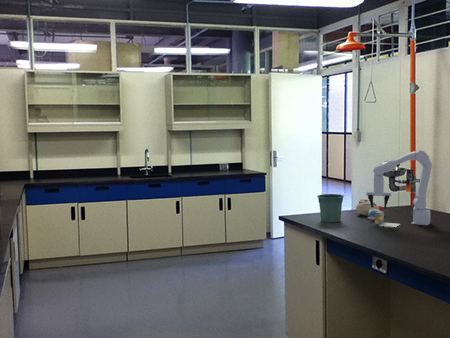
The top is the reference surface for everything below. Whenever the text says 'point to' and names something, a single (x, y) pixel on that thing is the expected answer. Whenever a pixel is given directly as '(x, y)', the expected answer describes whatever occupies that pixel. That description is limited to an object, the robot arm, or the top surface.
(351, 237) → the top surface
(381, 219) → the teal block wooden top
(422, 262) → the top surface
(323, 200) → the flower pot
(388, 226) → the mat
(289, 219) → the top surface
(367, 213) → the toy
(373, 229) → the top surface
